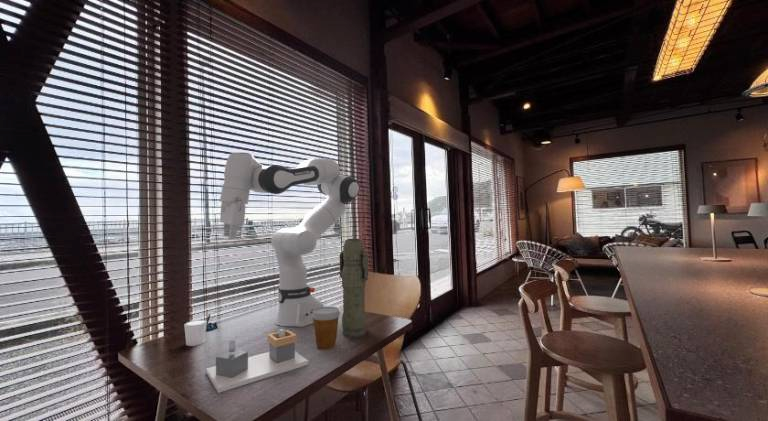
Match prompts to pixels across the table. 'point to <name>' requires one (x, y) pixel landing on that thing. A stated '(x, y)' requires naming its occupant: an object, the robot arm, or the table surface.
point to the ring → (277, 341)
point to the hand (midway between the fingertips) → (229, 237)
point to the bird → (210, 325)
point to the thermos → (354, 287)
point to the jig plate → (253, 365)
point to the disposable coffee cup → (325, 326)
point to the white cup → (195, 332)
